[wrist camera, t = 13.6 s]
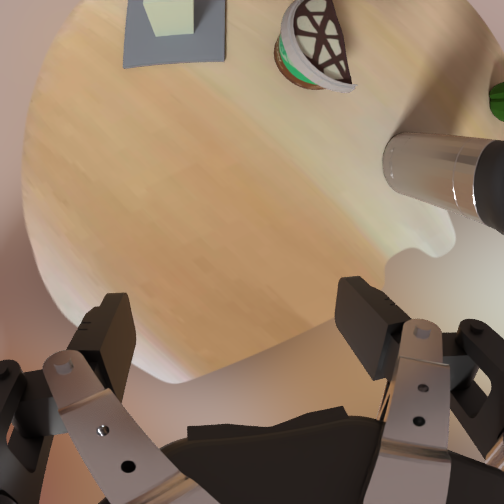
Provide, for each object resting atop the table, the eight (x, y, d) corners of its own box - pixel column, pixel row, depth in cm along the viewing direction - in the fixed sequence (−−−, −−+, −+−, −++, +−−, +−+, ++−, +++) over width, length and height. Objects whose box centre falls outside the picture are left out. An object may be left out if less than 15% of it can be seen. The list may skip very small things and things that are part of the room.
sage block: (194, 3, 28) (194, -36, 19) (193, 33, 29) (193, -1, 20) (157, 6, 27) (146, -32, 18) (155, 36, 29) (143, 4, 20)
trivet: (225, -18, 28) (225, -20, 27) (223, 61, 32) (224, 60, 31) (130, -11, 26) (129, -13, 25) (124, 68, 30) (122, 67, 29)
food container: (256, 17, 30) (274, -18, 21) (302, 15, 31) (332, -16, 22) (274, 105, 35) (300, 94, 25) (321, 100, 35) (358, 90, 26)
